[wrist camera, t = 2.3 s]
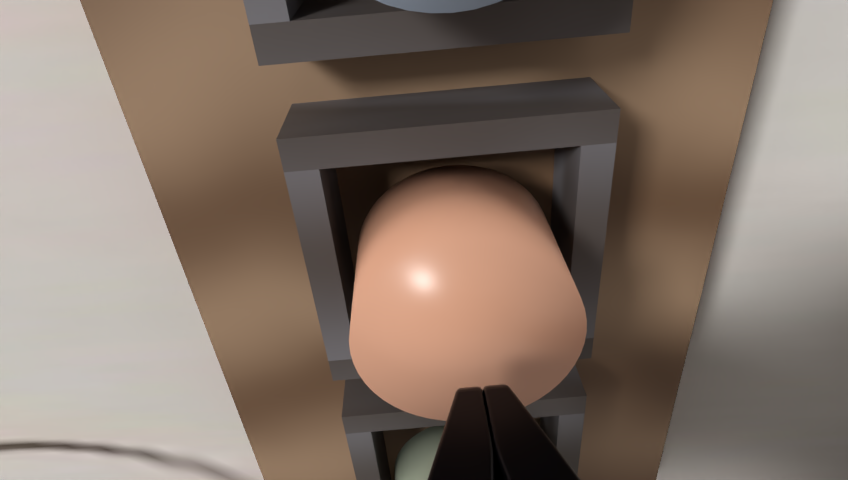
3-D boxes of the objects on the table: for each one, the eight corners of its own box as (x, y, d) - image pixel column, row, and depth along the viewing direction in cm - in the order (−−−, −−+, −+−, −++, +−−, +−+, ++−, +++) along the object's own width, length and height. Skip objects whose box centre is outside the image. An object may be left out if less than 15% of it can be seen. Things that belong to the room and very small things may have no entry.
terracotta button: (545, 316, 14) (578, 411, 12) (371, 331, 14) (366, 429, 12) (553, 155, 12) (597, 232, 9) (344, 174, 12) (330, 255, 9)
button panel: (632, 451, 23) (673, 549, 20) (291, 480, 23) (273, 583, 20) (842, -603, 9) (1119, -897, 5) (-50, -516, 9) (-322, -755, 5)
